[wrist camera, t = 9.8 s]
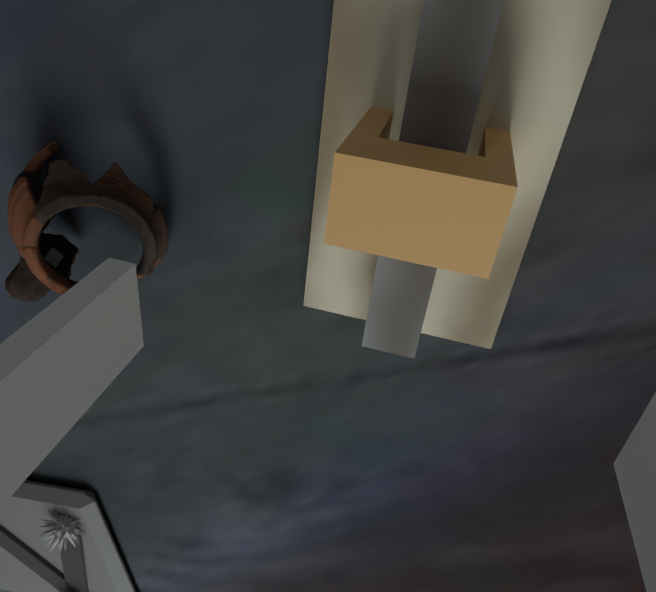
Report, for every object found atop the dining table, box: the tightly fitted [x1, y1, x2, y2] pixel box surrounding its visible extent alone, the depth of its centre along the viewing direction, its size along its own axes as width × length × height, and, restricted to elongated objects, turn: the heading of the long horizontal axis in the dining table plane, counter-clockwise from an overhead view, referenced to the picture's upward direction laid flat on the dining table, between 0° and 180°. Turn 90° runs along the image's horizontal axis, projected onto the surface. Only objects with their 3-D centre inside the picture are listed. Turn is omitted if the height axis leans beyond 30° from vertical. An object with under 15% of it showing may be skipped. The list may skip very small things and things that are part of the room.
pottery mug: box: [5, 141, 168, 302], centre depth 35 cm, size 12×10×8 cm
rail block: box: [304, 0, 611, 358], centre depth 27 cm, size 12×22×5 cm, turn 174°
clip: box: [324, 107, 518, 279], centre depth 25 cm, size 7×4×8 cm, turn 84°
